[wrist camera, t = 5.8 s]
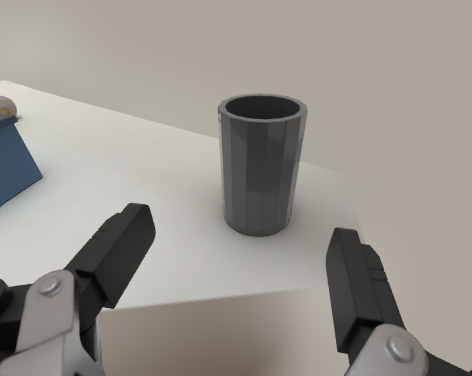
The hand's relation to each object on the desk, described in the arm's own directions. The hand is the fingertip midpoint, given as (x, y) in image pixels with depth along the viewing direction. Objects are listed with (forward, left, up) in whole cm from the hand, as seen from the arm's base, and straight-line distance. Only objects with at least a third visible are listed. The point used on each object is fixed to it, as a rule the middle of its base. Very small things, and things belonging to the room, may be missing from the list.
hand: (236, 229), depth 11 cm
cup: (0, -10, -8) cm, 13 cm away
